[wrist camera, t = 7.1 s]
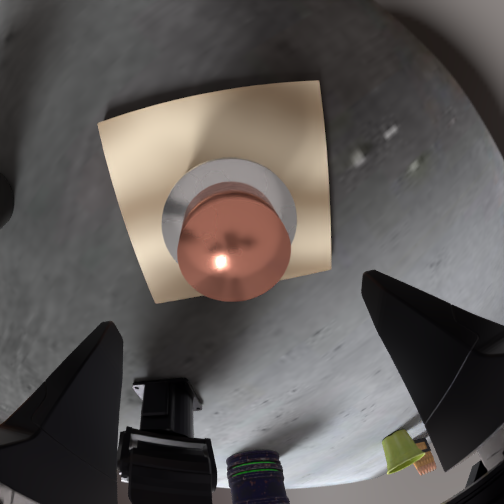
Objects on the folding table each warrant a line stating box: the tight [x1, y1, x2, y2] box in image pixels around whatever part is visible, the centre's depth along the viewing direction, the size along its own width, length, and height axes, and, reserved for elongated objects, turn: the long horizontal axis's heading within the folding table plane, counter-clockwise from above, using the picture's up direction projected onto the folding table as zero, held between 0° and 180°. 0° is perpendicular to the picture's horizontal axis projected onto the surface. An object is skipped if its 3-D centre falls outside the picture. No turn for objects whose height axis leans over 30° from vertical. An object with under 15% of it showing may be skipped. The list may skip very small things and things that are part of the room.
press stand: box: [97, 80, 331, 304], centre depth 17 cm, size 14×14×4 cm
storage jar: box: [226, 450, 290, 504], centre depth 36 cm, size 10×10×15 cm
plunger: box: [161, 157, 297, 302], centre depth 15 cm, size 7×7×7 cm
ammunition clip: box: [413, 438, 436, 475], centre depth 53 cm, size 11×2×12 cm, turn 61°
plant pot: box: [382, 429, 425, 474], centre depth 46 cm, size 9×9×9 cm
